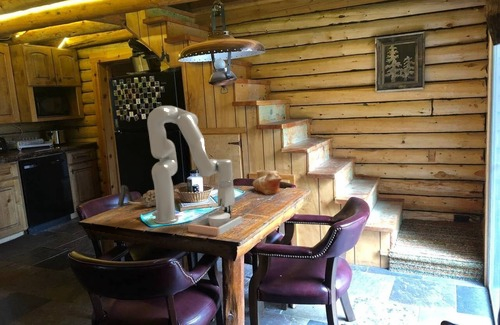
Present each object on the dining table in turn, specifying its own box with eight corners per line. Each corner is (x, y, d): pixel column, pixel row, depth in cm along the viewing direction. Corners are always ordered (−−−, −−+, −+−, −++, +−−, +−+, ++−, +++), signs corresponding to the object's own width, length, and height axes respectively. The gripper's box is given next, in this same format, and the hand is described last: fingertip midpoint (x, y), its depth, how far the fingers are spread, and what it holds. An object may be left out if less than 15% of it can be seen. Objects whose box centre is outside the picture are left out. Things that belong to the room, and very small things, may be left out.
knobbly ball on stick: (159, 202, 250) (157, 187, 248) (166, 205, 242) (165, 189, 241) (125, 209, 236) (123, 193, 235) (131, 212, 229) (130, 196, 227)
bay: (188, 231, 191) (187, 224, 191) (214, 218, 210) (214, 212, 209) (217, 236, 183) (217, 228, 182) (242, 222, 202) (241, 215, 201)
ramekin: (225, 230, 191) (224, 219, 190) (204, 228, 195) (203, 217, 194) (234, 223, 201) (233, 212, 201) (214, 221, 205) (213, 211, 205)
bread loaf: (269, 196, 253) (268, 173, 251) (249, 189, 276) (248, 168, 274) (287, 193, 260) (286, 170, 258) (266, 186, 283) (265, 165, 280)
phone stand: (120, 206, 244) (118, 187, 242) (117, 204, 249) (115, 186, 247) (134, 204, 249) (133, 185, 247) (132, 202, 254) (130, 183, 252)
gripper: (227, 180, 211) (229, 214, 213) (211, 186, 198) (213, 222, 200) (239, 181, 207) (241, 215, 210) (224, 187, 194) (226, 223, 197)
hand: (227, 218), depth 205 cm, fingers closed
